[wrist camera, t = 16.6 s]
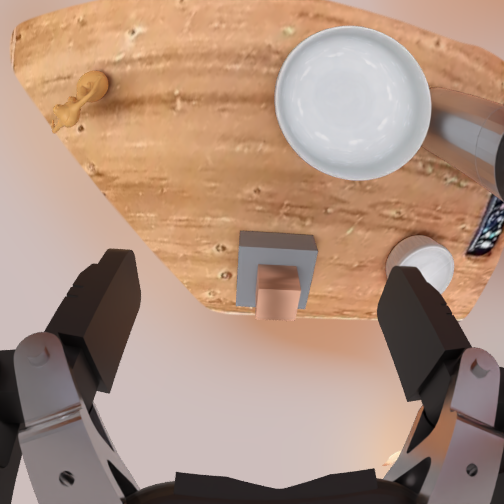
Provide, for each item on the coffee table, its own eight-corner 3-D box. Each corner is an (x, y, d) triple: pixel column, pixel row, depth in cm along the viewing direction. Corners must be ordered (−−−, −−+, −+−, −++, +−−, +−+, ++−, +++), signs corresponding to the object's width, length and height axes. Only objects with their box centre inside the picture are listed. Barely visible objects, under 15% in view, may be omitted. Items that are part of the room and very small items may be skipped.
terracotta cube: (296, 266, 41) (301, 290, 37) (291, 295, 44) (294, 320, 40) (258, 264, 41) (258, 288, 37) (255, 293, 44) (255, 319, 39)
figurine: (115, 52, 29) (64, 52, 19) (141, 87, 32) (96, 99, 22) (70, 94, 32) (13, 112, 22) (93, 128, 35) (42, 154, 24)
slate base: (312, 235, 43) (317, 251, 40) (301, 291, 49) (305, 308, 45) (240, 230, 43) (239, 246, 40) (237, 288, 48) (235, 305, 45)
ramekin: (405, 217, 42) (420, 235, 37) (451, 242, 44) (467, 261, 39) (366, 276, 47) (376, 297, 43) (414, 293, 49) (425, 314, 45)
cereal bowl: (411, 49, 29) (440, 49, 23) (393, 169, 38) (417, 189, 32) (275, 23, 28) (280, 12, 22) (266, 156, 37) (269, 174, 31)
